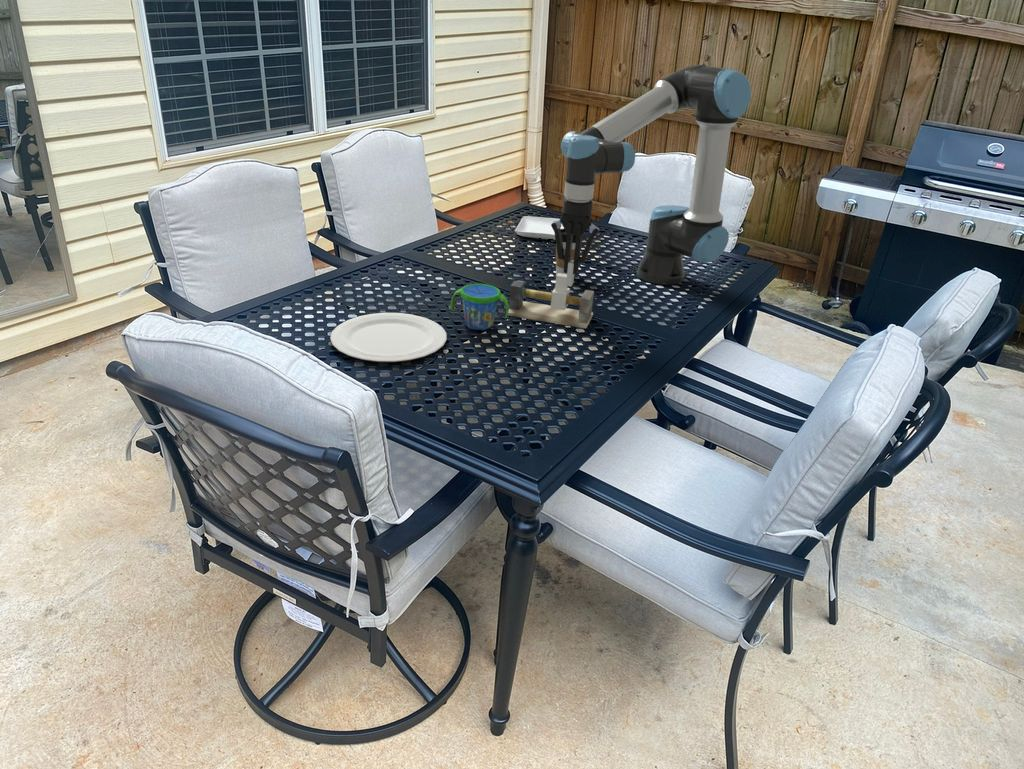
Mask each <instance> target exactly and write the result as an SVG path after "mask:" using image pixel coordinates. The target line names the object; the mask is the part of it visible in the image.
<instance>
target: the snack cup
mask: <svg viewBox="0 0 1024 769" xmlns="http://www.w3.org/2000/svg"><path fill="white" fill-rule="evenodd" d="M458 294H459V295H460V297H461V301H462V309H463V316H464V318H463V319H464V324H465V326H466V327H467V328H468V329H470V330H477V331H479V330H480V331H485V330H488V329H490V328H492V327H493V326H494V321H495V316H496V312H497V307H498V305H499V302H500V300H502V302H503V304H504V305H505V308H506V310H505V315H504V319H505V320H507V318H508V316H509V315H508V312H509V300H508V299H507V297H506V296H505V294H503V293H502V292H501V290H500V289H499V288H498V287H496V286H493V285H490V284H487V283H470V284H466V285H464V286H462V287H461V288H459V289H457V290H456V291H455V292H454V293H453V295H452V297H451V300H450V310H451V311H452V312H455V309H456V302H455V297H456V296H457V295H458Z"/></svg>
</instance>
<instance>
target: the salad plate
mask: <svg viewBox="0 0 1024 769" xmlns="http://www.w3.org/2000/svg"><path fill="white" fill-rule="evenodd" d="M558 220H560V218H554V217H553V218H552V217H540V216H529V215H527V216H526V215H524V216H522V217H521V219H520V221H519V223H518V225H517V226H516V227H515V230H514V231H515V233H516V234H517V235H519V236H521V237H525V238H529V239H530V238H531V239H539V238H541V239H540V240H548V239H553V240H552V241H556V240H555V233H554V230H553V228H552V227H551V224H552V223H553V222H554V221H558ZM560 229H564V227H563V225H562V224H561V228H560Z"/></svg>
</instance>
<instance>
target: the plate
mask: <svg viewBox="0 0 1024 769" xmlns="http://www.w3.org/2000/svg"><path fill="white" fill-rule="evenodd" d="M447 336H448V335H447V332H446V330H445V329H444V327H443V326H441V325H440V324H439V323H437V322H436V321H433V320H431V319H429V318H426V317H424V316H420V315H415V314H410V313H403V312H402V313H401V312H380V313H379V312H377V313H369V314H364V315H359V316H357V317H353V318H350V319H347V320H345V321H344V322H342V323H340V324H339V325H337V326H336V327H335V328H334V329H333V330H332V331H331V334H330V343H331V345H332V346H333V347H334V348H335V349H336V350H337V351H338V352H340V353H342V354H344V355H346V356H348V357H350V358H351V357H352V358H354V359H358V360H361V361H366V362H367V361H369V362H374V363H375V362H376V363H399V362H409V361H414V360H418V359H421V358H425V357H428V356H431V355H432V354H434V353H437V351H439V350H440V349H441V348H443V347H444V346H445V343H446V342H447V339H448V337H447Z"/></svg>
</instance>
